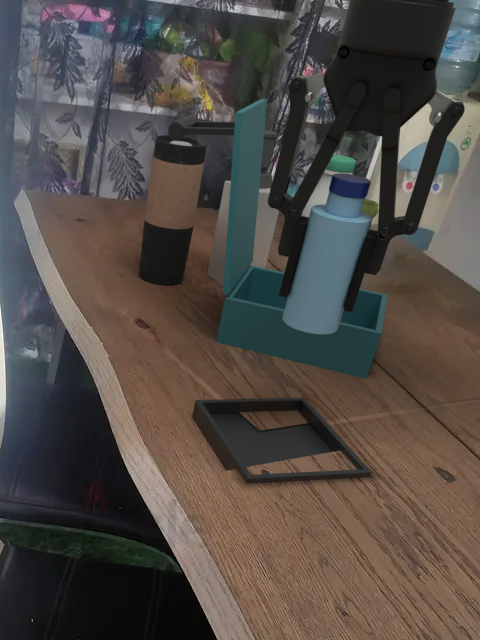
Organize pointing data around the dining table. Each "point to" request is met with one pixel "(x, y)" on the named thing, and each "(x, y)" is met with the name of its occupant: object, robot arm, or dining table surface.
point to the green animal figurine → (370, 208)
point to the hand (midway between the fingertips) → (316, 298)
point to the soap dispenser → (263, 221)
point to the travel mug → (171, 209)
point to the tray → (271, 438)
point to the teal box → (288, 343)
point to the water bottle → (329, 257)
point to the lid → (236, 180)
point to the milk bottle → (329, 181)
